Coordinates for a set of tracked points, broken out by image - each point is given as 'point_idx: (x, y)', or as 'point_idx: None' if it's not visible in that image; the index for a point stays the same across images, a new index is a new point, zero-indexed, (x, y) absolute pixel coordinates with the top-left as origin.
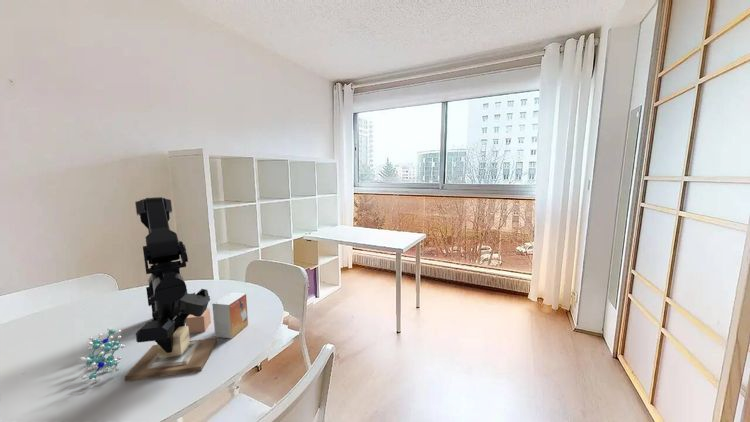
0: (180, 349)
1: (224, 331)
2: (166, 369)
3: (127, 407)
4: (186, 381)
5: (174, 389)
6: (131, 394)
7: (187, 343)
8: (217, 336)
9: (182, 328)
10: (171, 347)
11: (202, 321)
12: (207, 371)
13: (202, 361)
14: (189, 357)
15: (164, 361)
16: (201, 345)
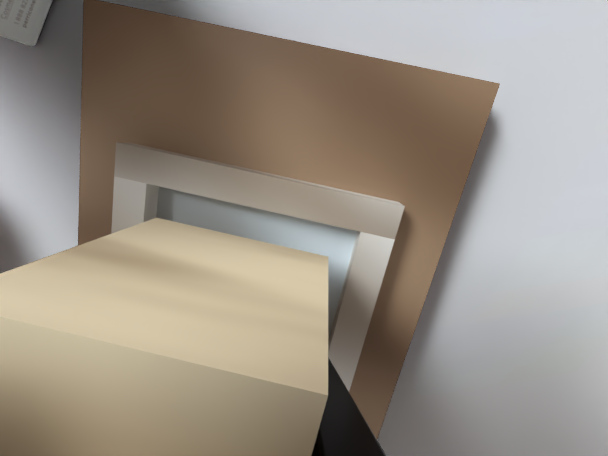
0: (327, 283)
1: None
2: (397, 322)
3: (594, 427)
4: (546, 179)
5: (589, 238)
6: (488, 430)
7: (191, 236)
8: (38, 24)
9: (14, 383)
10: (344, 387)
11: None
12: (510, 44)
13: (430, 82)
14: (351, 193)
15: (330, 355)
16: (172, 129)
